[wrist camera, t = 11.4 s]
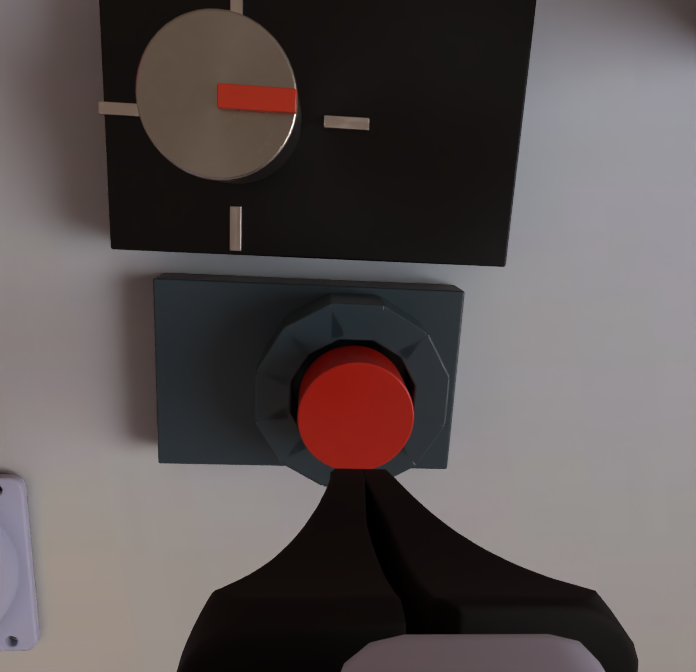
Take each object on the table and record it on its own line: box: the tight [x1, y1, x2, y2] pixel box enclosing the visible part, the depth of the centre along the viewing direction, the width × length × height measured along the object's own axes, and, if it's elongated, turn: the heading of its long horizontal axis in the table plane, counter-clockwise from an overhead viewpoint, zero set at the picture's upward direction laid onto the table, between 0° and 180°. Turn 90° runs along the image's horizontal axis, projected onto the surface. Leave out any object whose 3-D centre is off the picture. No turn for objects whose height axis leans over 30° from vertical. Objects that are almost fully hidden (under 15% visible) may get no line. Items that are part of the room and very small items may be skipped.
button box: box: [153, 273, 464, 486], centre depth 21 cm, size 11×7×4 cm, turn 87°
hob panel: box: [98, 0, 536, 267], centre depth 19 cm, size 13×8×3 cm, turn 87°
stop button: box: [297, 345, 414, 469], centre depth 18 cm, size 4×4×2 cm
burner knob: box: [135, 9, 301, 184], centre depth 16 cm, size 4×4×4 cm
